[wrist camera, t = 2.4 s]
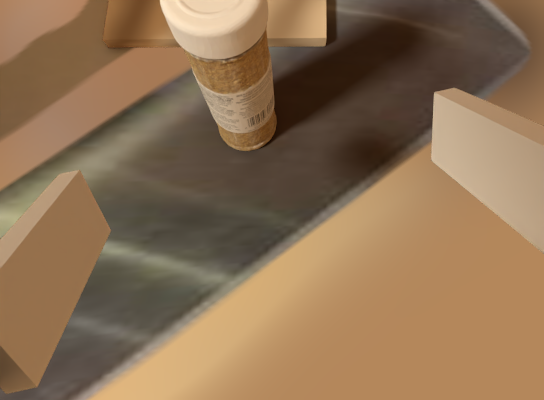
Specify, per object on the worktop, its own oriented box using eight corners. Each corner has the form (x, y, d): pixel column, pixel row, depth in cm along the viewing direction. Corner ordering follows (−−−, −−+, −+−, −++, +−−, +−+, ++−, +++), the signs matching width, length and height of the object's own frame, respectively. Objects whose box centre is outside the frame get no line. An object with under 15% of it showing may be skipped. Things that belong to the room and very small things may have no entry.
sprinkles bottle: (258, 89, 29) (231, -77, 16) (288, 134, 28) (286, -4, 15) (207, 117, 28) (137, -29, 15) (236, 164, 27) (187, 50, 14)
